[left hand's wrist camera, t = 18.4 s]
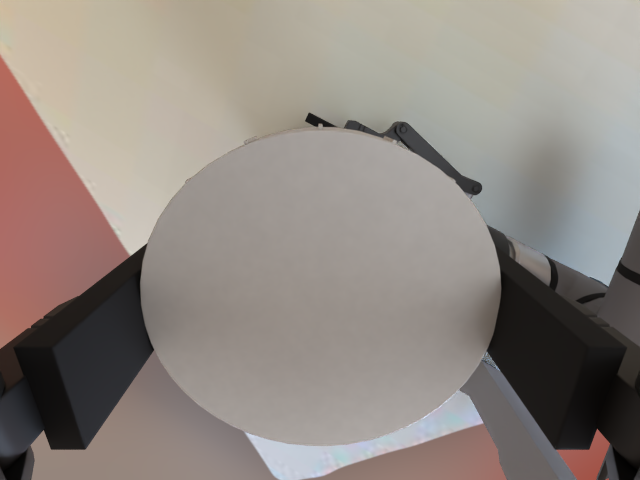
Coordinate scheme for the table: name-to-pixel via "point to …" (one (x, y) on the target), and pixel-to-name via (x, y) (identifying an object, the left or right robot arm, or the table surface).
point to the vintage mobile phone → (513, 429)
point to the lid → (320, 287)
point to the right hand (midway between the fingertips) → (284, 168)
